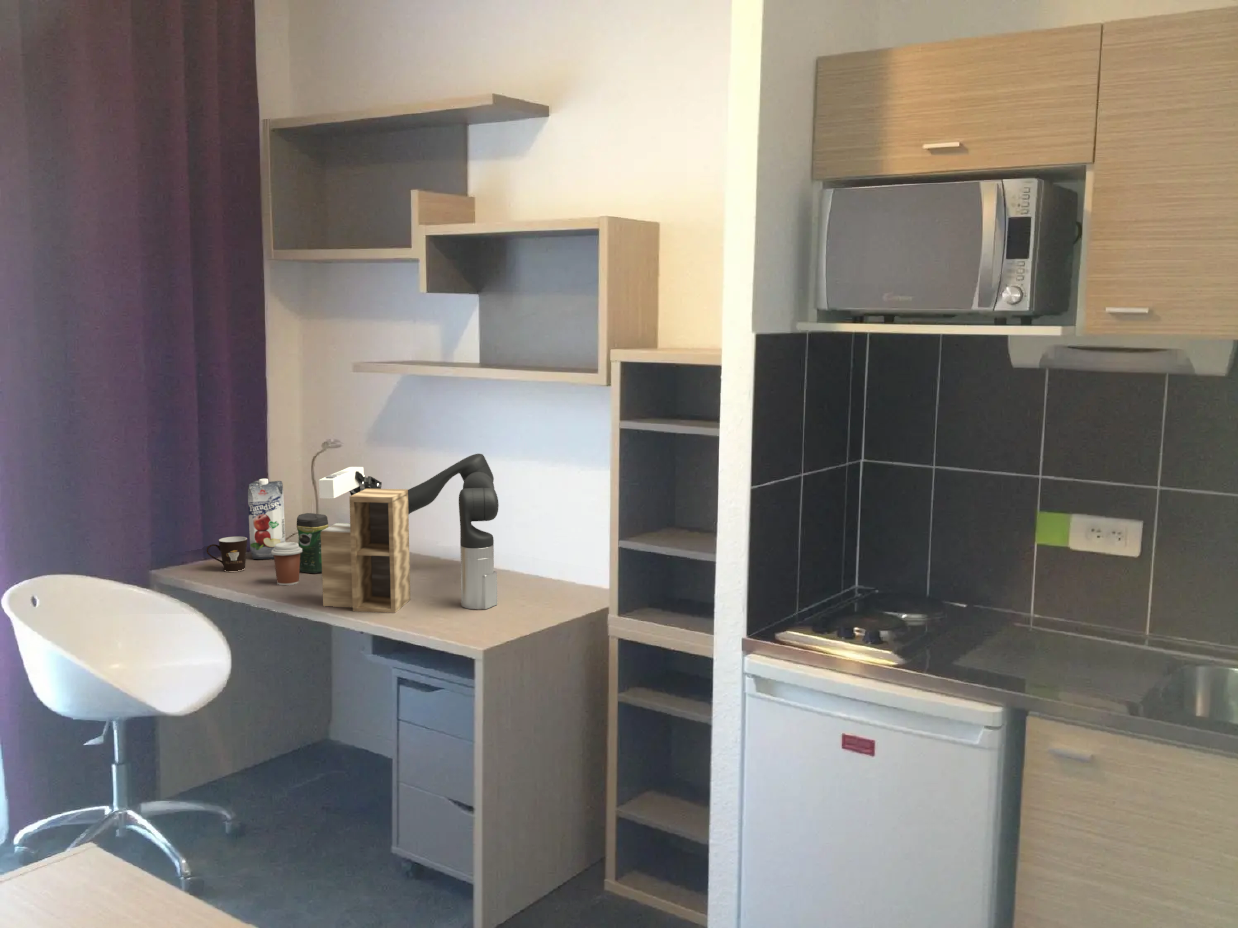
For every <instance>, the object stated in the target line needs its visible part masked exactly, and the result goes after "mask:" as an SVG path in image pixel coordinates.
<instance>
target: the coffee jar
mask: <svg viewBox="0 0 1238 928" xmlns="http://www.w3.org/2000/svg"><path fill="white" fill-rule="evenodd" d="M328 527H329V520H328V516H327V515H326V514H322V513H321V514H319V513H314V512H306V513H300V514H298V516H297V518H296V530H297V534H298V536H297V537H298V544H299V547H300V548H302V553H300V568H299V572H301V573H302V572H303V573H309V574H317V573H321V574H322V556H321V532H322V530H324V529H326V528H328Z"/></svg>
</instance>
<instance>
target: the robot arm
mask: <svg viewBox="0 0 1238 928" xmlns="http://www.w3.org/2000/svg"><path fill="white" fill-rule="evenodd" d="M458 474H459V475H460V477H461V479H462V481H463V484H462V489H461V490H460V491H459V494H458V513H459V527H460V528H459V529H460V531H459V532H460V534H459V535H460V536H459V537H460V538H459V539H460V548H459V549H460V598H461V599H460V600H461V601H460V604H461V607H462V608H464V609H469V610H488V609H489V608H492V607H494V606H496V605H498V572H497V571H496V570H495V558H494V557H495V556H494V552H495V550H494V549H495V548H494V544H495V543H494V541H495V540H494V536H493V534H492V533H490V532H487V531H484V530H481V529H479V528H477V527H475V526H474V525H473V524H472V522H489V521H490V522H491V521H493V520H495V518H496V517H497V515H498V512H499V507H500V505H499V504H500V503H499V497H498V494H497V492H496V490H495V485H494V479H495V478H494V475H493V472H492V470H491V467H490V466H489V463H488V461H487V459H486V457H485V456H484V454H483V453H475V454H471V455H469V456H467V457H465V458H462V459H461V460H459V461H457V462H455V463H454V464H453V465H450V466H449V467H447V468H445V469H444V470H442V471H441V472H439V473H437V474H436V475H433V476H432V477H430V478H429V479H427V480H425V481H424V482H421V483H420V484H418V485H415V486H413V487H411V488H407V489H408V516H410V515H411V514H412V513H413V512H416V511H418V510H420V509H422V508H424V507H428V506H429V505H430V504H431V503H433V502H434V501H435V500H436V499H437V497H438V496H439V494H440V493H441V491H442V490H443V489H444V487H445V485H446V484H447V483H448V482H449V481H450V480H451V479H452V478H453V477H454V476H456V475H458ZM355 479H356V480H357V481H358V482H359V483H360V485H361V486H359V487H357V488H355V489H352V490H350V491H348V492H349V494H350V496H351V495H354V494H356V493H358V492H360V491H362V490H365V489H382V481H380V480H378V479H377V478H374V477H373V476H369V475H368V476H367V477H366V475H365V474H364V475H362V474H361V473H359V472H358V471H356V472H355Z"/></svg>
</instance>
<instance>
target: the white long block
mask: <svg viewBox="0 0 1238 928" xmlns="http://www.w3.org/2000/svg"><path fill="white" fill-rule="evenodd" d="M356 471H358V472H359V473H361V474H362V475H364V476H365V473H364V471H365V470H364V466H348V467H346V468H344V469H342V470H339V471H336V472H334V473H331V474H328V475H326V476H324V477H323V478H320V479H318V491H319V492H318V494H319V497H318V498H319V499H335V498H338V497H340V496H342V495H344V494H346V493H348V492H349V491H350V490H352V489H355V488H357V487H359V486H361V485H360V483H359V482H358V481H357V480H356V479H355V472H356Z"/></svg>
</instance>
